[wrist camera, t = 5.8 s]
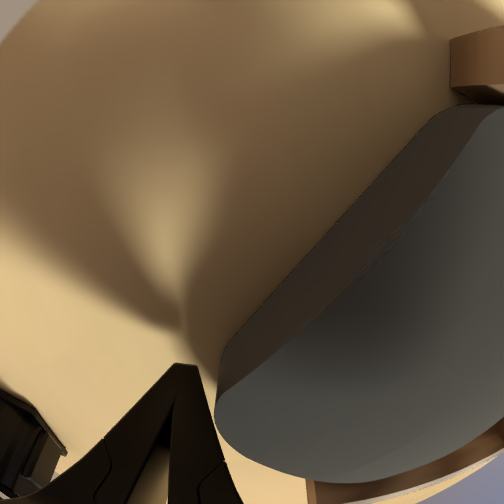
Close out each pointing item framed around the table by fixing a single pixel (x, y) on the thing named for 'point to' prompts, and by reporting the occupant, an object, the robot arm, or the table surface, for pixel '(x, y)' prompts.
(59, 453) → the robot arm
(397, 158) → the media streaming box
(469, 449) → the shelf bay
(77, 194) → the table surface
